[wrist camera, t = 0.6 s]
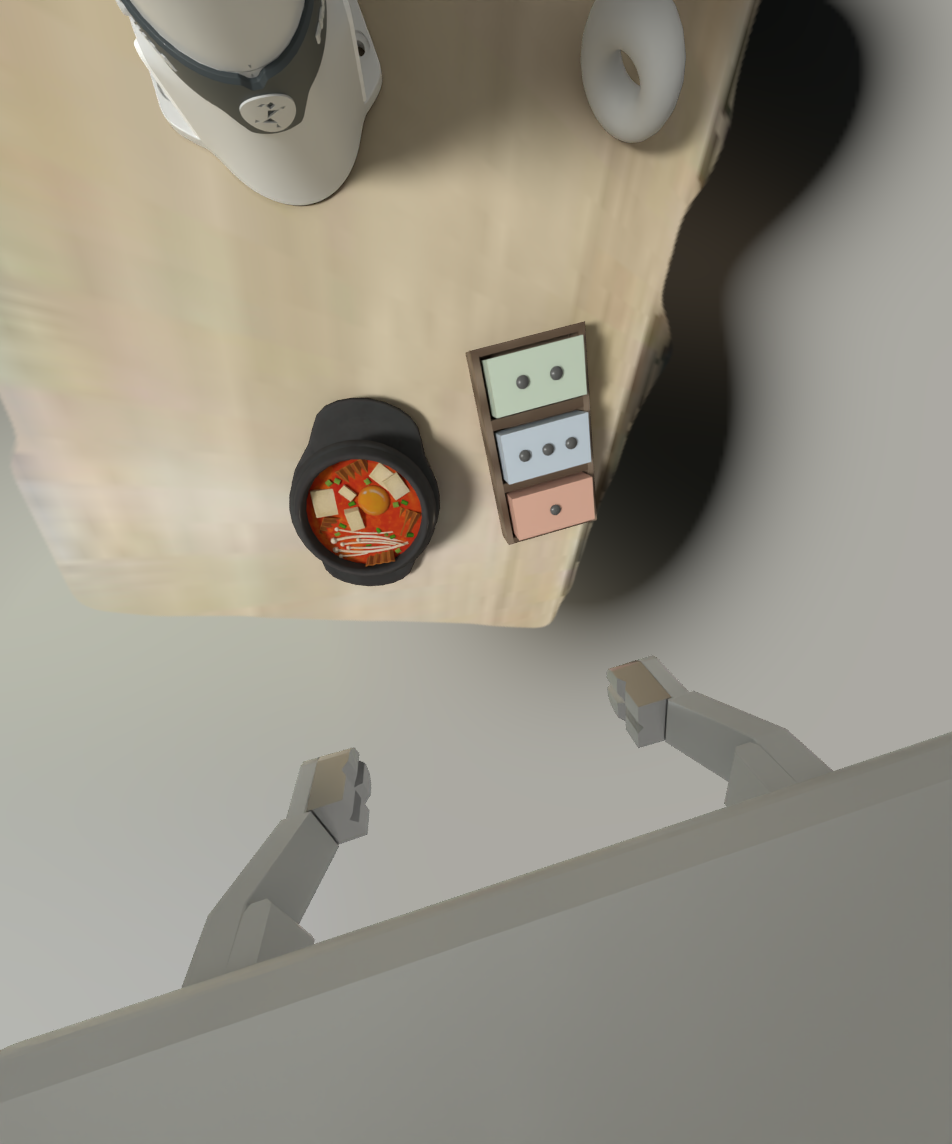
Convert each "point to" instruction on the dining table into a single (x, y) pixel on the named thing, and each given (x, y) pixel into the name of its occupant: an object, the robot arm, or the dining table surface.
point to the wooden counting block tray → (523, 419)
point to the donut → (655, 45)
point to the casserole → (364, 492)
